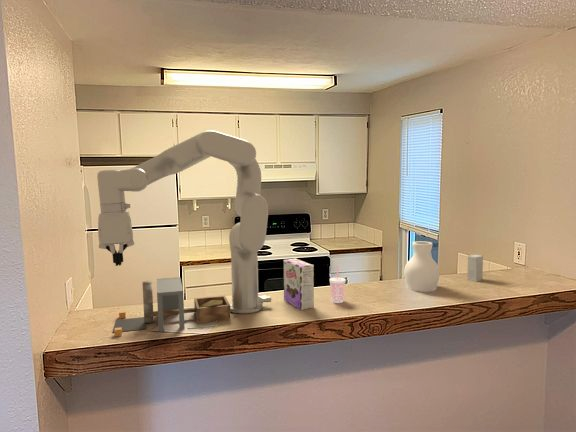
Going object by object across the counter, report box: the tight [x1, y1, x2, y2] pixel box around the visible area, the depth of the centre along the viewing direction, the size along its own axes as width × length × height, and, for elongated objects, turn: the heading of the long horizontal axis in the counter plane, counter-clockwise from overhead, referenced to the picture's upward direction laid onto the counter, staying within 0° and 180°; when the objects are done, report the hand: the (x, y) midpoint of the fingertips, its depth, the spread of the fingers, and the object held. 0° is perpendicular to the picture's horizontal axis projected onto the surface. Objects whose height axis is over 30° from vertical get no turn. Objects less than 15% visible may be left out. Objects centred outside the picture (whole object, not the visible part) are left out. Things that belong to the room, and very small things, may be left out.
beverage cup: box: [329, 265, 346, 304], centre depth 166 cm, size 6×6×14 cm
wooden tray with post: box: [141, 280, 232, 324], centre depth 149 cm, size 28×12×14 cm, turn 107°
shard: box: [199, 300, 223, 308], centre depth 152 cm, size 11×8×2 cm
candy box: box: [282, 258, 315, 311], centre depth 164 cm, size 14×6×16 cm, turn 27°
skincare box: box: [466, 253, 484, 283], centre depth 193 cm, size 6×4×12 cm
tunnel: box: [111, 276, 220, 337], centre depth 148 cm, size 33×20×12 cm, turn 107°
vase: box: [403, 240, 441, 293], centre depth 182 cm, size 14×14×20 cm
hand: (118, 264), depth 142 cm, fingers closed
